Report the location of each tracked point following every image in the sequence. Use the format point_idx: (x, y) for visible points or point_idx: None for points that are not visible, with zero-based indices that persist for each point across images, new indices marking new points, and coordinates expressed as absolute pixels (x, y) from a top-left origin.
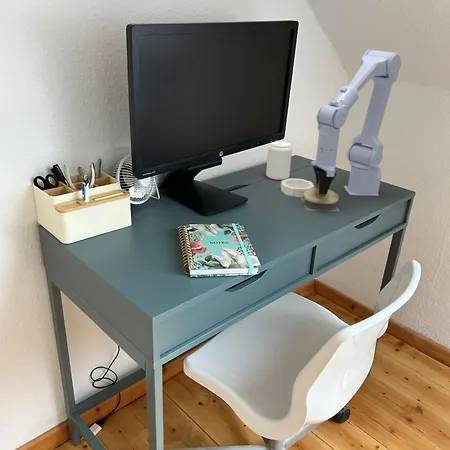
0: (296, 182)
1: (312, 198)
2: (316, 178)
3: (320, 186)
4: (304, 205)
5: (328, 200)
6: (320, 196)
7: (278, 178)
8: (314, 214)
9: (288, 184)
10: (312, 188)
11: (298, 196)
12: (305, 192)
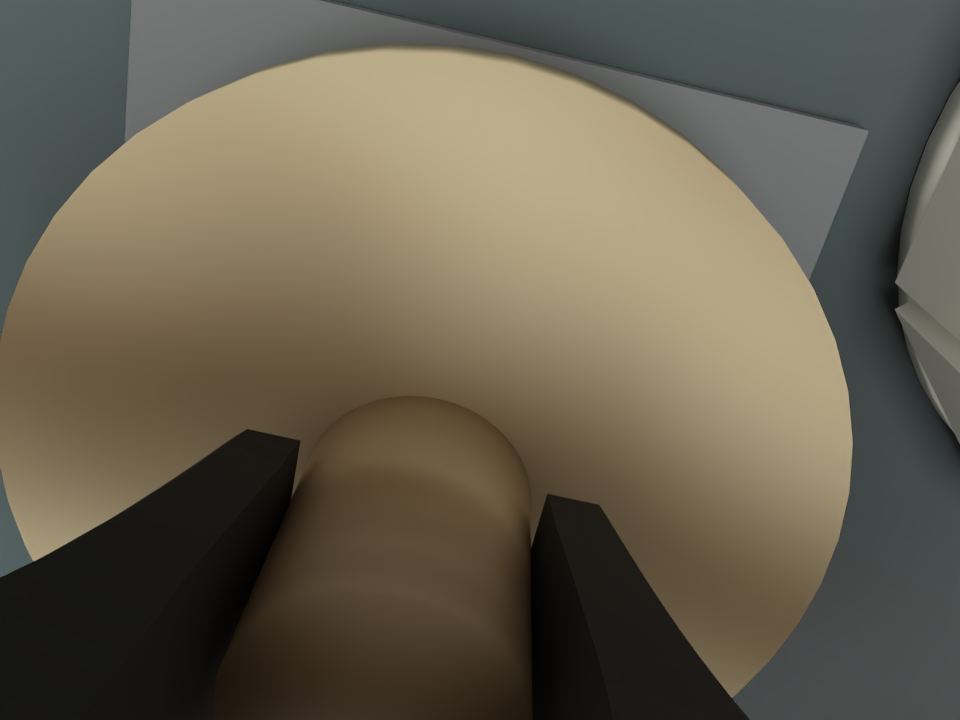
0: None
1: (144, 158)
2: (601, 700)
3: (96, 541)
4: (431, 37)
5: (18, 483)
6: (278, 422)
7: None
8: (17, 75)
9: None
10: None
11: (957, 121)
12: (618, 159)
